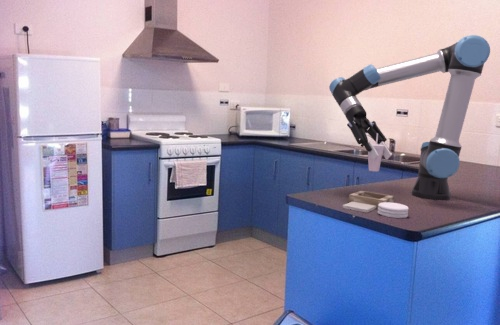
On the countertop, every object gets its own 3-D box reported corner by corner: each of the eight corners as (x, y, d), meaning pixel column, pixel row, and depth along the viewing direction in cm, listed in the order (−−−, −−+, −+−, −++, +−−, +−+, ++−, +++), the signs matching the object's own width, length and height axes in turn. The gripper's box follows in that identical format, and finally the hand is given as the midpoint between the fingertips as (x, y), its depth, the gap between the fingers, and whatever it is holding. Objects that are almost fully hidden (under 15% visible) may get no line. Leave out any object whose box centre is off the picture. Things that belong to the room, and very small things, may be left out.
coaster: (395, 220, 150) (396, 209, 150) (371, 213, 158) (372, 203, 158) (413, 217, 156) (414, 207, 156) (389, 210, 164) (390, 201, 164)
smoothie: (384, 170, 173) (388, 133, 171) (379, 172, 168) (382, 134, 166) (368, 168, 177) (371, 132, 175) (362, 170, 171) (365, 132, 170)
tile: (351, 204, 170) (352, 201, 170) (375, 208, 165) (376, 205, 165) (342, 208, 162) (342, 205, 162) (367, 212, 157) (367, 209, 157)
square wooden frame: (360, 197, 183) (361, 190, 182) (393, 203, 176) (394, 195, 175) (348, 202, 172) (349, 194, 172) (382, 208, 165) (383, 200, 165)
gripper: (365, 117, 188) (393, 162, 176) (330, 116, 177) (358, 164, 166) (376, 105, 183) (406, 150, 171) (341, 103, 172) (370, 151, 161)
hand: (382, 157), depth 169 cm, fingers closed on smoothie, 6 cm apart
